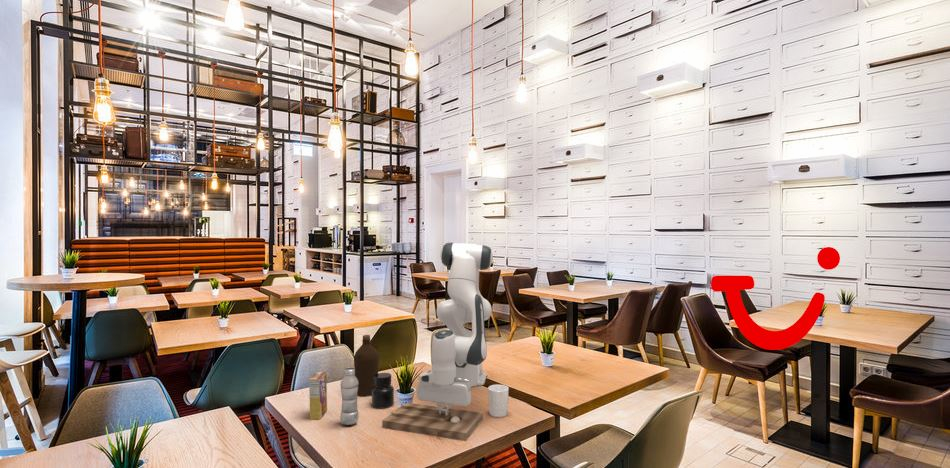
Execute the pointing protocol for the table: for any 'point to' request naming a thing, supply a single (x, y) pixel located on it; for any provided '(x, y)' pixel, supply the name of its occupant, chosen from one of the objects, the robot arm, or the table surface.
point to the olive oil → (366, 366)
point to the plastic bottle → (349, 397)
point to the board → (433, 421)
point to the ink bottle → (382, 391)
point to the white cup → (498, 400)
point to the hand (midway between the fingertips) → (443, 414)
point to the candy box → (318, 395)
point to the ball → (455, 419)
